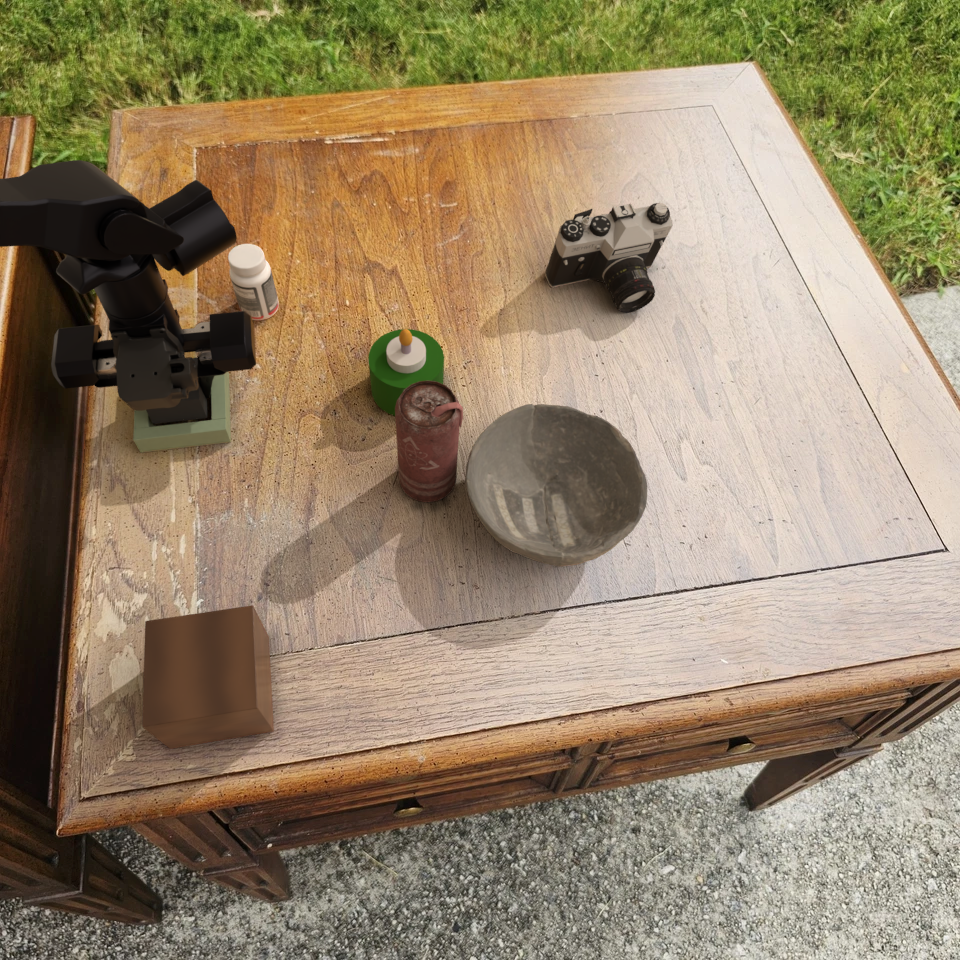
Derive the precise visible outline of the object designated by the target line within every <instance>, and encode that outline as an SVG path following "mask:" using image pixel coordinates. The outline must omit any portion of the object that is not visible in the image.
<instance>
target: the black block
mask: <svg viewBox="0 0 960 960" xmlns="http://www.w3.org/2000/svg"><path fill="white" fill-rule="evenodd" d="M192 358H193V359H194V361H195V363H196V367H197V377H198V365H197V357H192ZM146 411H147V413H148V415H149V417H150V419H151V421H152V423H153V424H155V425H158V424H167V423H168V424H169V423H177V422H184V421H185V422H187V421H194V420H195V421H196V420H203V419H208V399H206V398H205V396H204V394H203V391H202V386H201V381H200V377H199V378H198V389H197V390H194V391H190V392H189V393H188V398H186V399H185V398H184V399H181V400H180V402H179V404H178V405H176V406H174V407H170V408H155V409H147V410H146Z"/></svg>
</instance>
